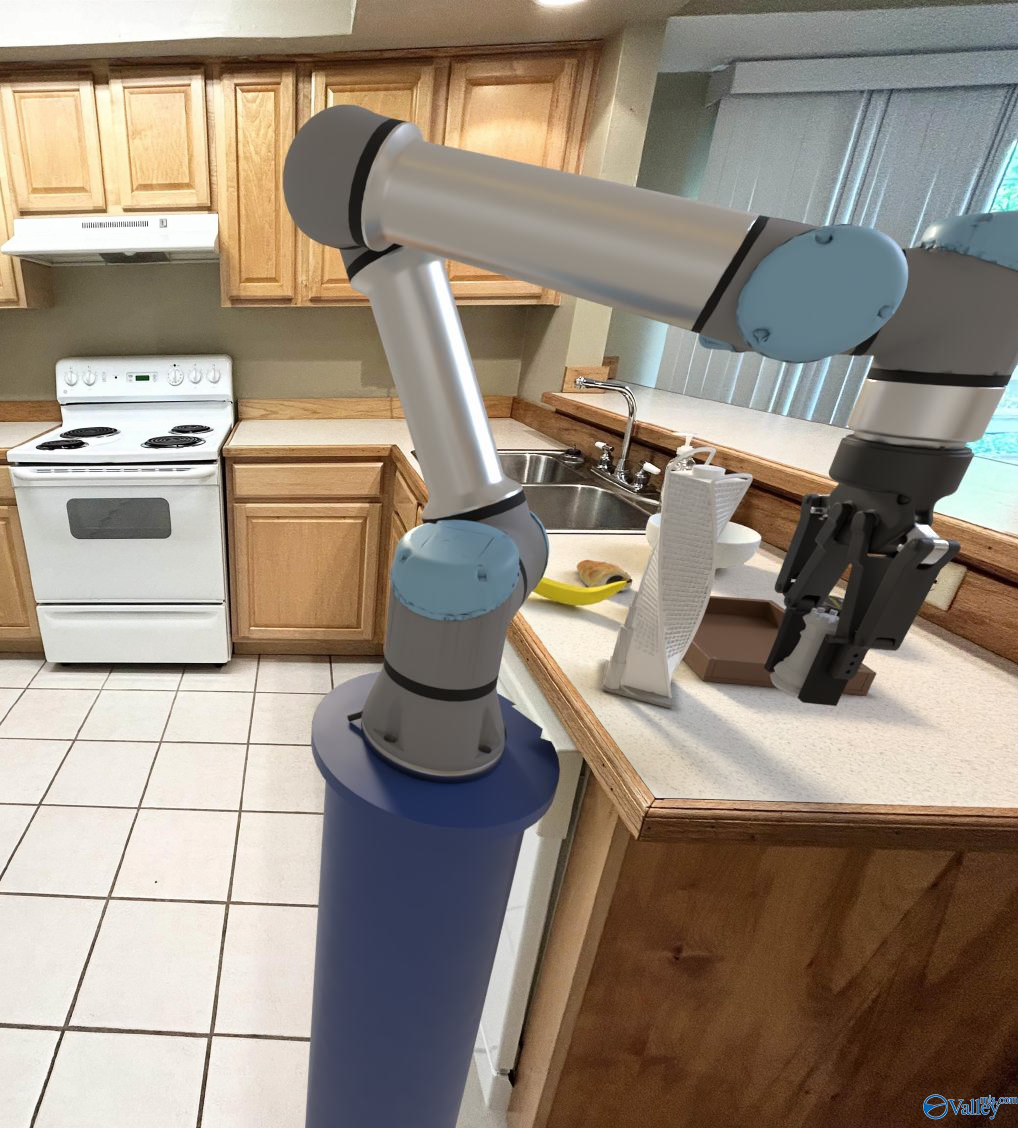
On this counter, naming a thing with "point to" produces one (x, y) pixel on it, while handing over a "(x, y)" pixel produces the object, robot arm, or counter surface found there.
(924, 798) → the counter surface
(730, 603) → the tray
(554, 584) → the banana
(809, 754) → the counter surface
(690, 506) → the skyscraper
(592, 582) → the pastry
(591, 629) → the counter surface
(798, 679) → the rook chess piece
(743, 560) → the cereal bowl
